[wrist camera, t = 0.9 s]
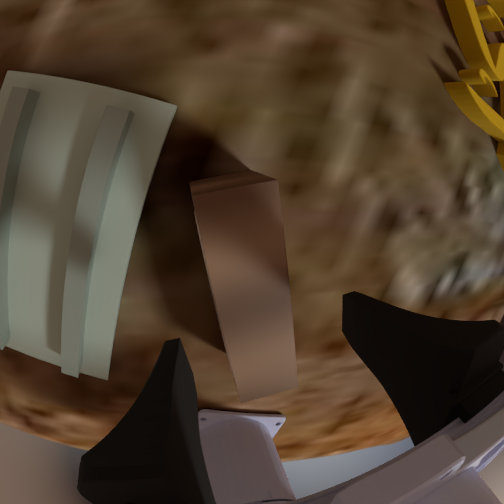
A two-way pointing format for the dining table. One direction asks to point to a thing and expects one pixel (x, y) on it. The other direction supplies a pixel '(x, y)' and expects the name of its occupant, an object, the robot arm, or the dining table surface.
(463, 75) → the decorative art
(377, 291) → the dining table surface
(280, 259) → the brown box
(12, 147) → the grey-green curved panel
